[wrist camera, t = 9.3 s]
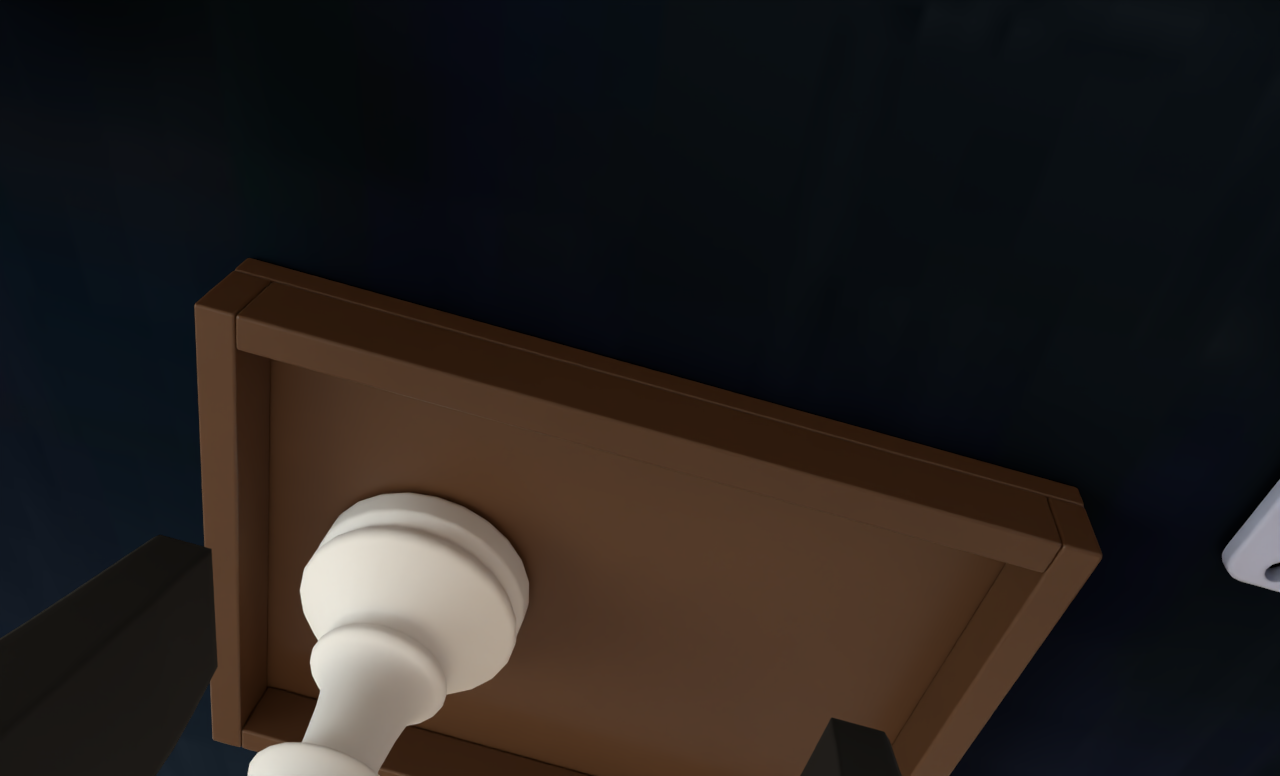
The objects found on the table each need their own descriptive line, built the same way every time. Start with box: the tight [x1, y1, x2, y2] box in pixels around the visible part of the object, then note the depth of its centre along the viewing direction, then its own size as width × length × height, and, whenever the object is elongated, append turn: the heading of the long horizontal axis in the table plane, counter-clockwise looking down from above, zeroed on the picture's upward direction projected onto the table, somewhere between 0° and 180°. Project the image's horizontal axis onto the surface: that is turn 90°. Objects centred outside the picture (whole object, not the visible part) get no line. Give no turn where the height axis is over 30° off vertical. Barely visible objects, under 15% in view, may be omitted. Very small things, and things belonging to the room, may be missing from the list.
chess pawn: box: [247, 492, 529, 776], centre depth 19 cm, size 5×5×9 cm
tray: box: [194, 258, 1103, 776], centre depth 22 cm, size 18×14×2 cm
